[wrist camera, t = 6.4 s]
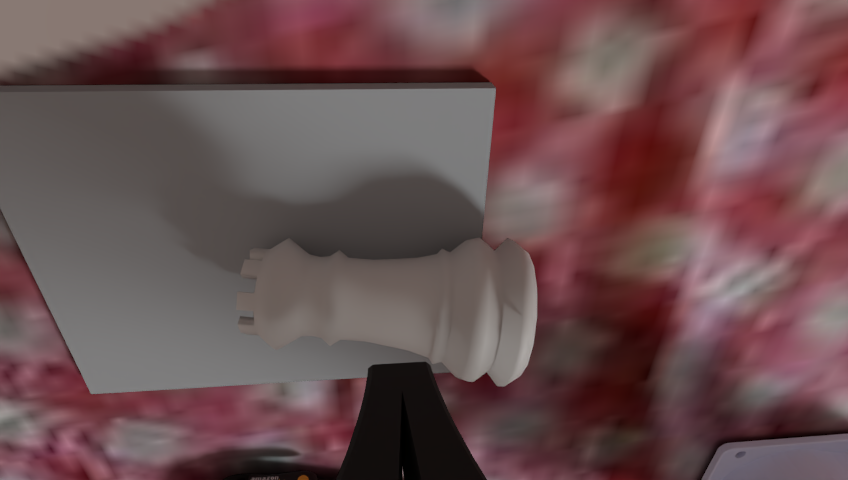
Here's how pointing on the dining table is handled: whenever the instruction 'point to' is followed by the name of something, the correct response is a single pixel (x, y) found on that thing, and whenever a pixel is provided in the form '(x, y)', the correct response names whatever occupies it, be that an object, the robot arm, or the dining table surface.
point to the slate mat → (227, 211)
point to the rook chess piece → (402, 304)
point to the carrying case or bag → (276, 476)
